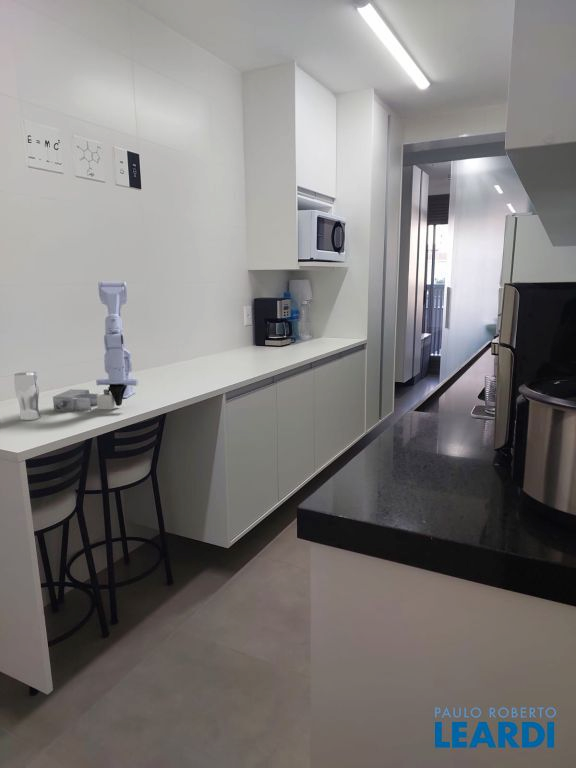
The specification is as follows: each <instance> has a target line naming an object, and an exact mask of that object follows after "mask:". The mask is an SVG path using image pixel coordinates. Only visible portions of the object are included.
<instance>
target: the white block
mask: <svg viewBox="0 0 576 768" xmlns="http://www.w3.org/2000/svg"><path fill="white" fill-rule="evenodd" d="M98 394H99V395H97V405H96V406H97V410H111V411H112V410H113V409H115V408H117V407H118V406H116V403H115V400H114V398H113V395H112V394H111V392H110V391H109V389H108V388H105V389H103V392H101V393H98Z"/></svg>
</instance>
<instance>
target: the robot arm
mask: <svg viewBox="0 0 576 768" xmlns="http://www.w3.org/2000/svg"><path fill="white" fill-rule="evenodd" d="M97 288H98V296H99V300H100V302H101V304H102V305H104V306H106V308H107V312H108V313H107V314H108V315H107V316H106V317H105V319H104V326H105V328H104V329H105V332H104V333H105V334H104V336H103V343H104V349H105V354H104V372H105V373H106V374H107V375H108V378H97V379H96V381H95V382H96V386H108V387H107V389H109V391H110V392H111V394H112V395H113V398H114V400H115V403H116V406H117V407H120V406H121V405H122V403H123V399H127V398H129V397H130V396H133V395H134V394H136V391H134V388H133V387H137V386H139V379H135V378H134V379H133V377H132V375H131V372H132V370H133V367H132V364H133V363H132V354H131V353H130V351H129V350H128V349H125V347H126V345H125V334H124V329H123V319H122V315H121V314H122V312H121V311H122V307H123V305H126V304H127V300H128V291H127V289H128V288H127V282H126V281H124V280H123V281H101V280H100V281H99V282H98V287H97Z"/></svg>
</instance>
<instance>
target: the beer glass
mask: <svg viewBox="0 0 576 768" xmlns="http://www.w3.org/2000/svg"><path fill="white" fill-rule="evenodd" d="M13 375H14V379H13V380H14V381H13V382H14V390H15V394H16V398H17V402H18V404H19V409H20V414H19V420H20V421H21V422H22V421H23V422H26V421H37V420H39V419H40V418H41V412H40V411H39V399H40V398H39V397H40V396H39V395H40V384H39V378H38V373H37V371H36V372H35V371H24V372H23V371H22V372H16V373H14V374H13Z"/></svg>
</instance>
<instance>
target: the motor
mask: <svg viewBox="0 0 576 768" xmlns="http://www.w3.org/2000/svg"><path fill="white" fill-rule="evenodd" d="M99 394H100V393H90V390H89V389H77V388H75V389H73V388H71V389H68V390H66V391H64V392H60V393H59V394H56V395H53V396H52V401H53V402H52V403H53V411H54V412H75V411H91V410H92V406H98V405H97V395H99Z"/></svg>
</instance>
